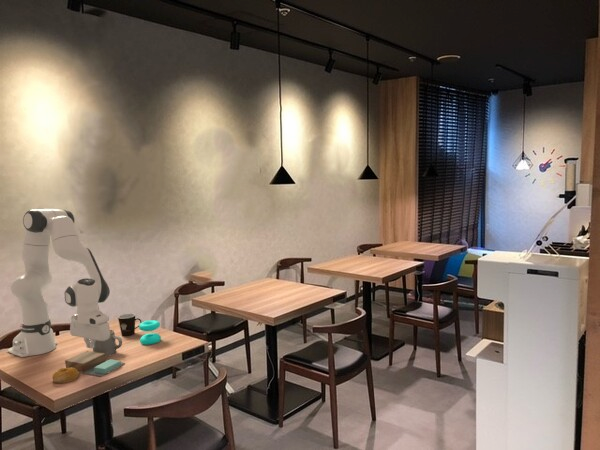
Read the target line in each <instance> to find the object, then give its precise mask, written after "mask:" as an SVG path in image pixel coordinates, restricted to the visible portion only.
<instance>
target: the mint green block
mask: <svg viewBox="0 0 600 450" xmlns="http://www.w3.org/2000/svg"><path fill="white" fill-rule="evenodd" d="M119 366H120V367H122V366H121V360H119V359H118V360H117V359H107V360H106V362H104V363H102V364H100V365H98V366H96V367H94V372H99V373H104V374H105V373H107V372H109V371H111V370H113V369H115V368H116V369H118V368H120V367H119ZM117 367H118V368H117ZM116 369H115V370H116ZM113 371H114V370H113ZM111 372H112V371H111ZM109 373H110V372H109ZM107 374H108V373H107ZM105 375H106V374H105Z"/></svg>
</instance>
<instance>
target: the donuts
mask: <svg viewBox="0 0 600 450" xmlns="http://www.w3.org/2000/svg"><path fill="white" fill-rule="evenodd" d="M141 322H142V323H139V325H138V326H139V327H138V328H139V330H140V331H142V332H149V333H146V334H143V335H142V336H141V337H140V339H139V341H140V344H142V345H146V346H149V345H151V346H152V345H155V344H157V343H159V342H161V340H162V337H161V335H160V334H159V333H156V332H152V331H156V330H157V329H159V328H160V326H161V322H160V321H159V320H154V319H153V320H152V319H149V320H144V321H141Z"/></svg>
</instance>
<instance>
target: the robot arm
mask: <svg viewBox="0 0 600 450" xmlns="http://www.w3.org/2000/svg"><path fill="white" fill-rule="evenodd" d="M22 223H23V227H24V229H25V232H24V236H23V242H22V243H23V244H22V252H21V260H22V262H23V264H24V270H25V271H24V273H23V274H21V275H19V276H17V277H16V278H15V279H14V281H13V282H12V283H11V285H10V290H11V293H12V294H13V296H15V297H16V298H17V300H18V303H19V306H20V308H21V313H22V315H21V316H22V323H21V324H20V326H19V327H20V328H21V331H20V332H19V333H18V334H17V335H16V336H14V338H13V340H12V347H10V348H8V349H7V353H8V354H9V353H10V354H11V355H15V356H17V357H20V358H26V357H31V356H37V355H43V354H46V353H49V352H51V351H53V350H55V349H56V348H57V345H58V342H57V341H56V340H55V334H54V330H53V329H52V328H51V327H52V321H51V319H50V311H49V305H48V303H47V302H46V301H45V298H44V295H43V292H42V291H44V290H46V289H47V288H48V287H49V285H51V283H52V281H53V280H52V279H53V277H52V276H53V275H52V273H51V272H50V266H49V265H50V264H49V253H50V244H51V242H52V247H53V251H54V253H55V254H56V255H57V256H58V257H60V258H61V259H63V260H68V261H73V262H76V263H79V264H82V265H83V266H84V267H85V269H86V271H87V273H88V276H89V278H88V277H87V278H81V279H79V280H77V281H76V283H75V284H72V285H70V286H68V287H67V288H66V289H65V291H64V301H65V303H66V305H68V306H70V307H73V308H74V307H76V308H77V309H76V310H77V311H76V314H73V315H72V316H71V319H70V323H69V324H70V326H69V333H70V335H71V336H73V337H79V338H83V341H84V343H85V346H86V348H88V349H93V348H94V347H95V346H94V344H95V342H96V340H99V341H105V340H108V339H109V337H110V330H111V328H110V327H111V326H110V324H109V320H110V319H109V316H108V315H107V314H105V313H103V312H102V311H100V305H99V304H101V303H105V301H107V299H109V298H108V297H109V296H110V293H111V292H110V291H111V289H110V287H109V285H108V283H107V282H106V280H105V278H104V276H103V274H102V273H101V269H100V267H99V265H98V263H97V261H96V259H95V256H94V255H93V253H92V251H91V250H90V249H89V248H87V247H86V246H85V245H84V244H83V243H82V242H81V240H80V237H79V233H78V229H77V226H76V225H75V217H74V214H73V212H71V211H70V210H66V209H58V208H57V209H56V208H44V209H36V208H35V209H34V208H33V209H30V210H27V211H26V212H25V213H24V216H23V218H22Z"/></svg>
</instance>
